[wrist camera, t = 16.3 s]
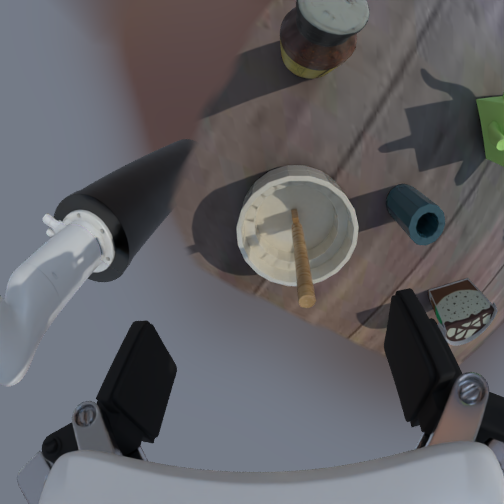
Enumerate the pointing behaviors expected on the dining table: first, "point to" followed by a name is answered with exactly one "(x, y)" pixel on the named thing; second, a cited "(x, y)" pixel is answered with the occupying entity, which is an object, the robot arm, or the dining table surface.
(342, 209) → the bowl
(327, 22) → the sauce bottle
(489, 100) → the kettle
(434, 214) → the crock
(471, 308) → the food container
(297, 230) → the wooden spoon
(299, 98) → the dining table surface
